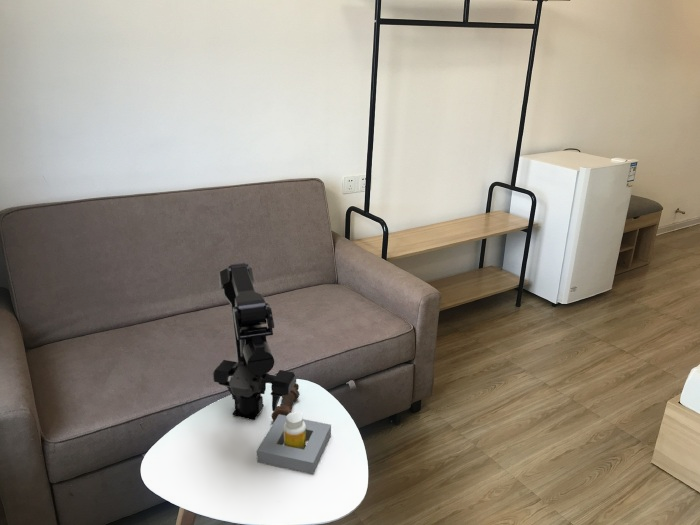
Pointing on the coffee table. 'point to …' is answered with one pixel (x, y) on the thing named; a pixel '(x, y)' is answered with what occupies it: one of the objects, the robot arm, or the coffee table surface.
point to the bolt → (286, 403)
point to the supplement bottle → (295, 431)
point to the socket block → (292, 457)
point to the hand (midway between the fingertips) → (256, 406)
